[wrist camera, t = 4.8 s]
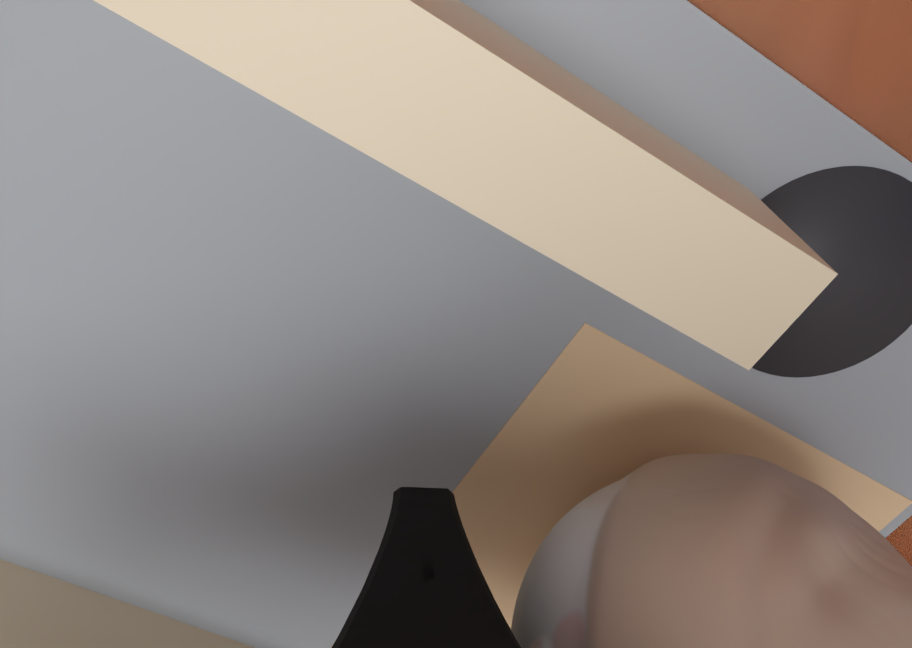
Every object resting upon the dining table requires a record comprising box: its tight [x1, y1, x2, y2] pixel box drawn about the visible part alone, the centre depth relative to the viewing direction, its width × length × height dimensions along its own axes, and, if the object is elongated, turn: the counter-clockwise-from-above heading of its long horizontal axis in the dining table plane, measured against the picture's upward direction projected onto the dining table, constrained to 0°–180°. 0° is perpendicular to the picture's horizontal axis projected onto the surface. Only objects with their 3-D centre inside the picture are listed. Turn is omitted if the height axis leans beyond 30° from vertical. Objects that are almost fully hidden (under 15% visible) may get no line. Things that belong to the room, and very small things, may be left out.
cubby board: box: [0, 0, 912, 648], centre depth 12 cm, size 22×17×3 cm
